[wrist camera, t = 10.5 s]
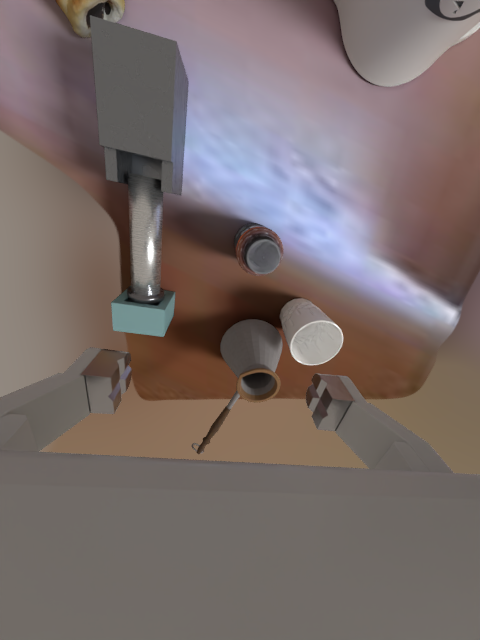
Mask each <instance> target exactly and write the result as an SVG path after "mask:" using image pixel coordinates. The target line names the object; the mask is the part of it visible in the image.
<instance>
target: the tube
mask: <svg viewBox="0 0 480 640" xmlns="http://www.w3.org/2000/svg"><path fill="white" fill-rule="evenodd" d="M128 192H129V226H130V260H131V286H130V287H128V288H127V298H128V299H129V300H131V301H132V302H133V303H140V304H147V305H154V306H158V305H159V304H160V301H162V300H163V299H164V290H163V289H162V288H160V279H161V247H162V215H163V192H162V191H161V180H159V179H155V178H151V177H147V176H143V175H138V174H133V173H128Z"/></svg>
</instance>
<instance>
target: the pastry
mask: <svg viewBox="0 0 480 640" xmlns="http://www.w3.org/2000/svg"><path fill="white" fill-rule="evenodd" d="M56 2H57V4H58V5H59V7H60V8H61V10H62V11H63V12H64V13H65V15H66V16H67V18H68V20H69V21H70V23H71V25H72V27H73V30H74V32H75V33H76V34H77V35H79V36H80V37H83V38H86V37H88V38H89V37H90V36H91V24H90V15H91V16H94V17H98V18H101V19H104V20H108V21H111V22H114V23H116V22H118V21H119V20H120V19H122V16H123V13H124V10H125V2H124V0H56Z"/></svg>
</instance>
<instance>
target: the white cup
mask: <svg viewBox="0 0 480 640" xmlns="http://www.w3.org/2000/svg"><path fill="white" fill-rule="evenodd" d="M280 321H281V324H282V329H283V332H284V335H285V338H286V341H287V343H288V346H289V349H290V352H291V354H292V356H293V358H294V359H295V360H296V361H298V362H300V363H302V364H305V365H318V364H322V363H325V362H327V361H329V360H330V359H332V358H333V357H334V356H335V355H336V354H337V353H338V352H339V350H340V348H341V346H342V343H343V334H342V331H341V329H340V328H339V327H338V326H337V325H336V324H335V323H334V322H333V321H332V320H331V319H330V318H329V317H328V316H327V315H326V314H325V313H323V312H322V311H321V310H320V309H319V308H318V307H316V306H315V305H314V304H313V303H312V302H311V301H309V300H306V299H304V298H298V299H293V300H291V301H289V302H287V303H286V304H285V306H284V307H283V308H282V309H281V313H280Z"/></svg>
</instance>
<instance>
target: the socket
mask: <svg viewBox="0 0 480 640" xmlns="http://www.w3.org/2000/svg"><path fill="white" fill-rule="evenodd" d="M174 303H175V292H172V291H166V290H164V299H163V300H162V301H160V304H159V305H158V306H154V305H147V304H140V303H133V302H132V301H131V300H129V299H128V298H127V289H126V290H125V291H124V292H123V293H122V294H120V295H119V296H118V297H117V298H116V299H115V300H114V301H112V302H111V306H112V320H113V330H114V331H121V332H129V333H137V334H145V335H153V336H161V337H164V335H165V333H166V331H167V329H168V326H169V324H170V322H171V320H172V318H173V316H174Z"/></svg>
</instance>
